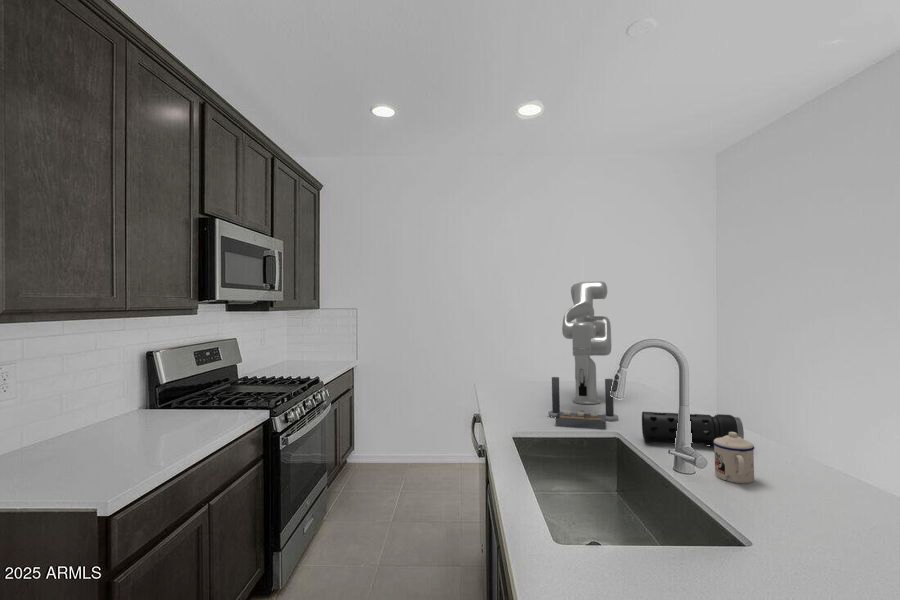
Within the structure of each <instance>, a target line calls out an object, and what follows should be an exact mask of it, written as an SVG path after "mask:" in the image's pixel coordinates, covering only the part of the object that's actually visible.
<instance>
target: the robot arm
mask: <svg viewBox="0 0 900 600" xmlns="http://www.w3.org/2000/svg"><path fill="white" fill-rule="evenodd" d="M570 295H571V300H572V302H573V305H572V306H571V307H570V308H569V309H568V310H567V311H566V312H565V313H564V316H563V319H562V327H561V330H562V331H561V333H562V335H563V338H565V339H569V340H572V356H574V379H575V381H574V382H575V397H573V398H572V402H573V403H575V404H580V405H597V404H598V405H599V404H601V400H600V398H598V395H597V394H598V392H597V364H596V362H595V361H594V360H593V358H591V356H597V357H599V356H602V357H605V356H609V355H610V354H611V353H612V352H611V351H612V327H611V326H612V325H611V321H610V319H609V318H608V316H601V315H597V316H596V315H595V309H594V302H593V301H594V300H605V299H606V298H607V296H608V286H607V283H606V282H605V281H600V280H598V281H597V280H596V281H594V280H593V281H582V282H577V283H574V284H572V285H571V287H570ZM574 320H576V321H574Z"/></svg>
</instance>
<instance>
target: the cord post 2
mask: <svg viewBox="0 0 900 600" xmlns="http://www.w3.org/2000/svg"><path fill="white" fill-rule="evenodd" d="M612 382H613V383H614V379H613V378H604V395H605V397H604V399H605V413H603V414H601V415H606V422H618V421H619V415H618V414H615V412H614V411H615V408H614V407H615V406H614V405H615V404H614V396H613V397H611V396H610V391H611V386H612Z"/></svg>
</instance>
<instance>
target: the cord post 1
mask: <svg viewBox="0 0 900 600" xmlns="http://www.w3.org/2000/svg"><path fill="white" fill-rule="evenodd" d="M560 398H561V397H560V377H559V376H552V377H551V401H552V402H551V403H552V404H551V406H552V407H551V409H552V410H550V411H548V413H547V414H548V415H549V416H552V417H556V416H557V414H558V412H562V413H564V411H561V409H560V408H561V406H560V405H561V401H560V400H561V399H560ZM549 416H548V417H549ZM552 417H551V418H552Z"/></svg>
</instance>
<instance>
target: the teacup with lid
mask: <svg viewBox="0 0 900 600" xmlns="http://www.w3.org/2000/svg"><path fill="white" fill-rule="evenodd" d="M728 434H729V435H726V436H724V437H720V438H716V439H715V440H714V442H713V444H714V447H713V448H714V449H713V450H714V474H715V476H716V477H717V478H718V479H720V478H721V480H722V481H725V480H727V481H726V482H729V481H730V483H734V482H735V483H734V484H751V483H753V482H754V481H755V463H754V462H755V461H754V458H755V457H754V450H755V446H754V444H753V442H751V441H748V440H747V439H743V438H741V437H738V434H737V433H736V432H729V433H728Z"/></svg>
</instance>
